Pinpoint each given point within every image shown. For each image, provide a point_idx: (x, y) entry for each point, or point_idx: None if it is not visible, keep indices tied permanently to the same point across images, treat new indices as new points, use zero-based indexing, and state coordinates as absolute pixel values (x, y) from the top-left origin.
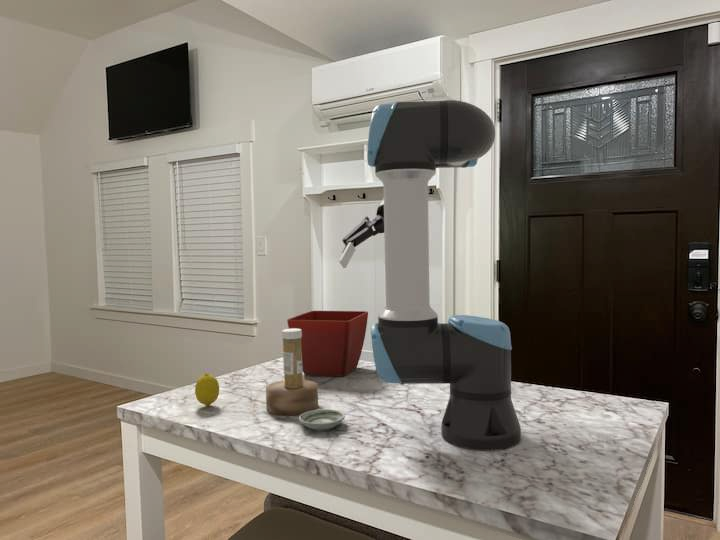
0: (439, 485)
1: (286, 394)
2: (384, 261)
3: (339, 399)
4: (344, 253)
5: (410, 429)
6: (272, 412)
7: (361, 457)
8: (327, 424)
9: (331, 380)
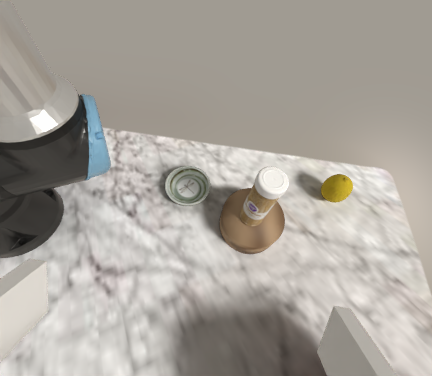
0: None
1: (239, 190)
2: (43, 264)
3: (214, 274)
4: (375, 364)
5: (98, 210)
6: None
7: (127, 147)
8: (173, 170)
9: (282, 372)
